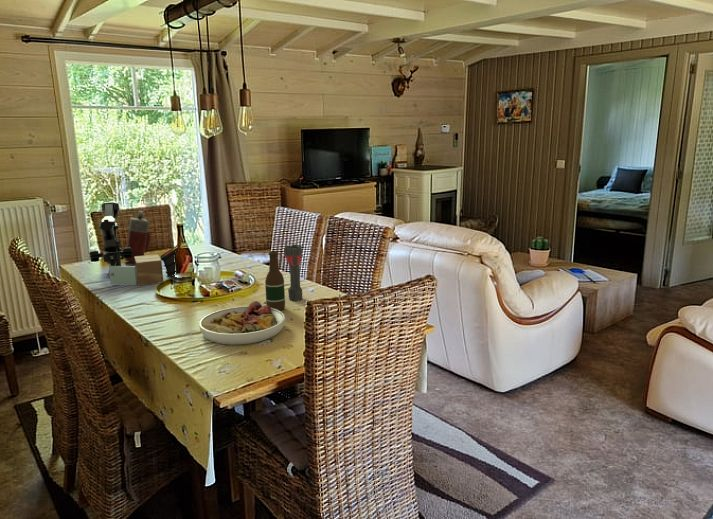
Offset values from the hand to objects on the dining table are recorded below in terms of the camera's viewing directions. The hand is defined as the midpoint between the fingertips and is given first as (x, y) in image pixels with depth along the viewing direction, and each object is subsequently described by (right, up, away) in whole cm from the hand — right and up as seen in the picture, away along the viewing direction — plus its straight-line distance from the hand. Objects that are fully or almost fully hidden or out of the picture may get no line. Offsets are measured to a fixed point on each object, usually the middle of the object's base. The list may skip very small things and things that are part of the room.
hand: (113, 269), depth 256 cm
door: (+6, -8, -1) cm, 10 cm away
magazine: (+24, -3, +17) cm, 30 cm away
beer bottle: (+83, -16, -38) cm, 93 cm away
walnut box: (+14, -6, +8) cm, 17 cm away
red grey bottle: (-8, +4, +46) cm, 47 cm away
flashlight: (+89, -12, -24) cm, 93 cm away
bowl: (+75, -22, -62) cm, 99 cm away
